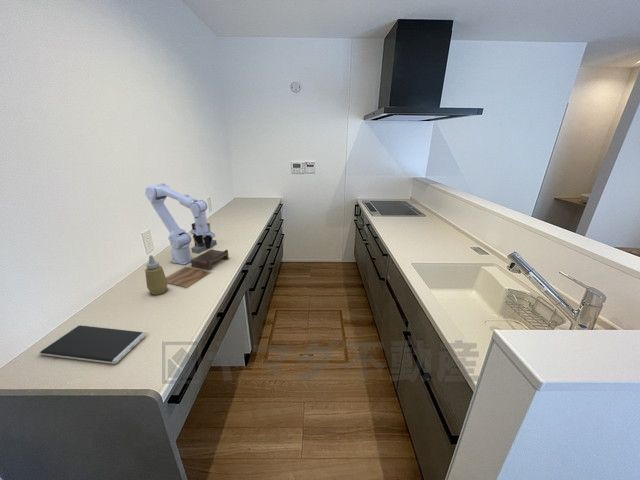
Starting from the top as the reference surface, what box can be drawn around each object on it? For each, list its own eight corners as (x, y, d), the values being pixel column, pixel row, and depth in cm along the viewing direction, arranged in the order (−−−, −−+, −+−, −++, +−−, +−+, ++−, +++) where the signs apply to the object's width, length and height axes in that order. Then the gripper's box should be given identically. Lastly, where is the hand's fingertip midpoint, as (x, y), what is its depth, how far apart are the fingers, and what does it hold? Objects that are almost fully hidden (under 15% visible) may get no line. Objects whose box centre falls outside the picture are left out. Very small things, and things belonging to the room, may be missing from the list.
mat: (160, 281, 128) (160, 280, 128) (186, 267, 142) (185, 266, 142) (186, 287, 123) (186, 287, 123) (210, 272, 137) (210, 272, 137)
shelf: (191, 266, 143) (190, 257, 141) (212, 255, 158) (210, 246, 155) (209, 270, 140) (208, 260, 138) (228, 258, 154) (227, 249, 152)
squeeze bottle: (173, 288, 122) (165, 253, 116) (157, 298, 115) (149, 261, 109) (159, 285, 125) (152, 250, 118) (144, 294, 117) (135, 258, 111)
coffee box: (194, 247, 167) (190, 223, 161) (202, 244, 173) (198, 221, 167) (205, 250, 164) (202, 225, 158) (213, 246, 170) (210, 223, 164)
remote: (198, 254, 136) (198, 248, 135) (191, 252, 137) (191, 247, 136) (216, 244, 148) (216, 239, 147) (210, 243, 149) (209, 238, 148)
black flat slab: (115, 365, 81) (114, 361, 80) (39, 355, 84) (37, 351, 83) (147, 335, 93) (146, 331, 93) (79, 328, 96) (77, 324, 95)
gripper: (184, 224, 136) (188, 248, 141) (207, 227, 132) (210, 252, 137) (194, 220, 142) (198, 243, 147) (216, 223, 138) (219, 247, 143)
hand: (204, 247), depth 142 cm, fingers closed on remote, 4 cm apart
